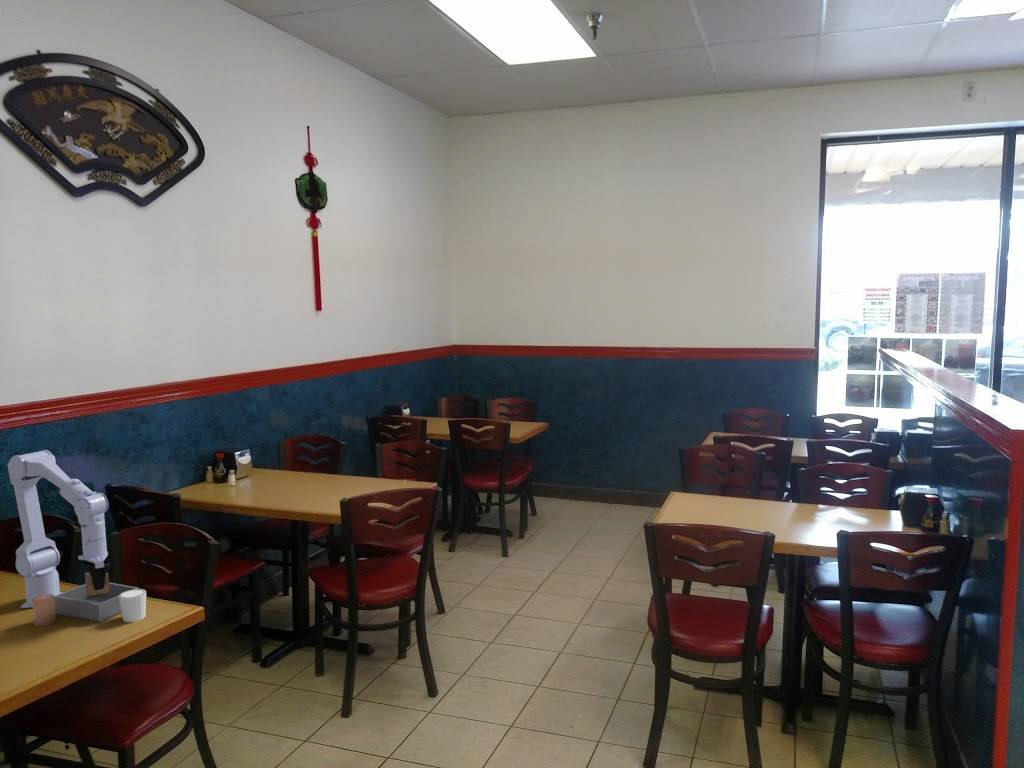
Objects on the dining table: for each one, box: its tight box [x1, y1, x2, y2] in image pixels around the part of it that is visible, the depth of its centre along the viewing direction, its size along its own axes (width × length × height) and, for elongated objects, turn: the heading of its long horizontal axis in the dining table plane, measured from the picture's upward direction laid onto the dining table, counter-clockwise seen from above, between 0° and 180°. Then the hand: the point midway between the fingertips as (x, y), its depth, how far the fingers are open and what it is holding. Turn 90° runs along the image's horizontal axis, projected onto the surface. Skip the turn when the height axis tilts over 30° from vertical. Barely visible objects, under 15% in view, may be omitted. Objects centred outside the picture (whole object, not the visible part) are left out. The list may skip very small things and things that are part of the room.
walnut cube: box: [84, 571, 110, 596], centre depth 211 cm, size 5×5×5 cm
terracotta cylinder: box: [32, 594, 57, 627], centre depth 208 cm, size 5×5×7 cm
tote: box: [54, 582, 140, 623], centre depth 216 cm, size 17×13×5 cm
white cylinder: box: [119, 588, 147, 623], centre depth 210 cm, size 7×7×7 cm
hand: (97, 586), depth 211 cm, fingers closed on walnut cube, 5 cm apart
